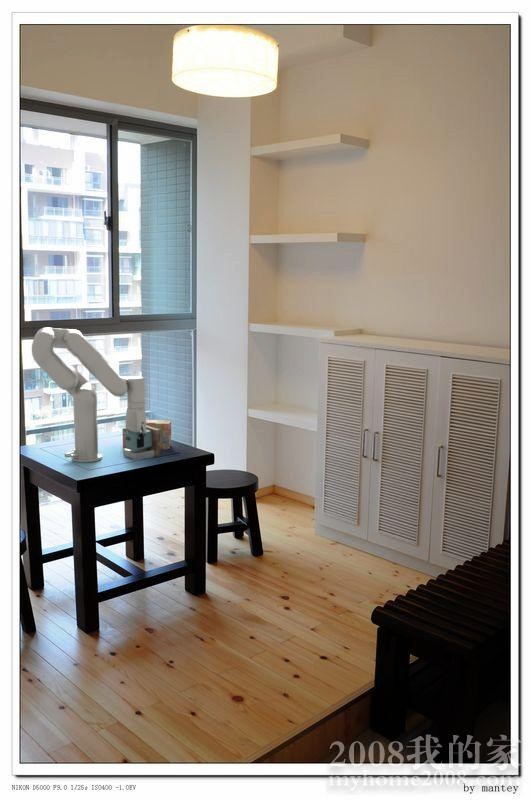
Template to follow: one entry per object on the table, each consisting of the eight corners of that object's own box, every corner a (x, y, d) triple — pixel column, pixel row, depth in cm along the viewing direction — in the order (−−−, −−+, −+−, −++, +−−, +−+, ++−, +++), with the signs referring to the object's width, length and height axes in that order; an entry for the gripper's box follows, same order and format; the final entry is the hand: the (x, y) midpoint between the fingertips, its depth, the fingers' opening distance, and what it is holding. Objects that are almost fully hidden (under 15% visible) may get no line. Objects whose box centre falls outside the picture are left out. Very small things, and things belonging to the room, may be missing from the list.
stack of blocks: (122, 448, 340) (121, 421, 338) (125, 444, 346) (125, 418, 344) (169, 449, 339) (168, 423, 337) (171, 446, 345) (171, 420, 343)
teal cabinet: (130, 451, 321) (129, 435, 319) (124, 448, 324) (123, 433, 323) (152, 446, 328) (151, 430, 326) (145, 443, 332) (144, 428, 330)
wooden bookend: (137, 460, 320) (136, 433, 317) (122, 455, 328) (121, 428, 326) (160, 456, 327) (160, 429, 325) (145, 450, 336) (144, 424, 334)
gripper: (118, 403, 326) (119, 443, 329) (139, 409, 313) (140, 451, 317) (133, 401, 331) (133, 440, 334) (154, 407, 318) (155, 448, 322)
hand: (136, 445), depth 325 cm, fingers closed on teal cabinet, 5 cm apart
